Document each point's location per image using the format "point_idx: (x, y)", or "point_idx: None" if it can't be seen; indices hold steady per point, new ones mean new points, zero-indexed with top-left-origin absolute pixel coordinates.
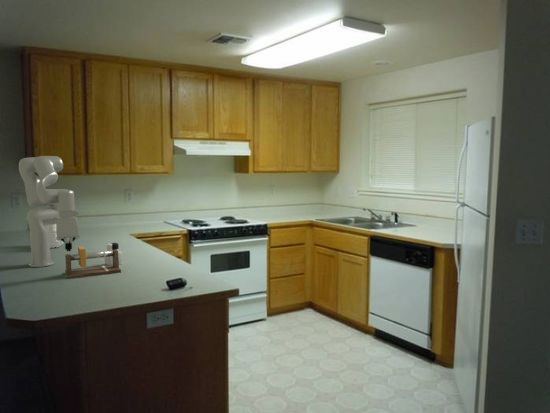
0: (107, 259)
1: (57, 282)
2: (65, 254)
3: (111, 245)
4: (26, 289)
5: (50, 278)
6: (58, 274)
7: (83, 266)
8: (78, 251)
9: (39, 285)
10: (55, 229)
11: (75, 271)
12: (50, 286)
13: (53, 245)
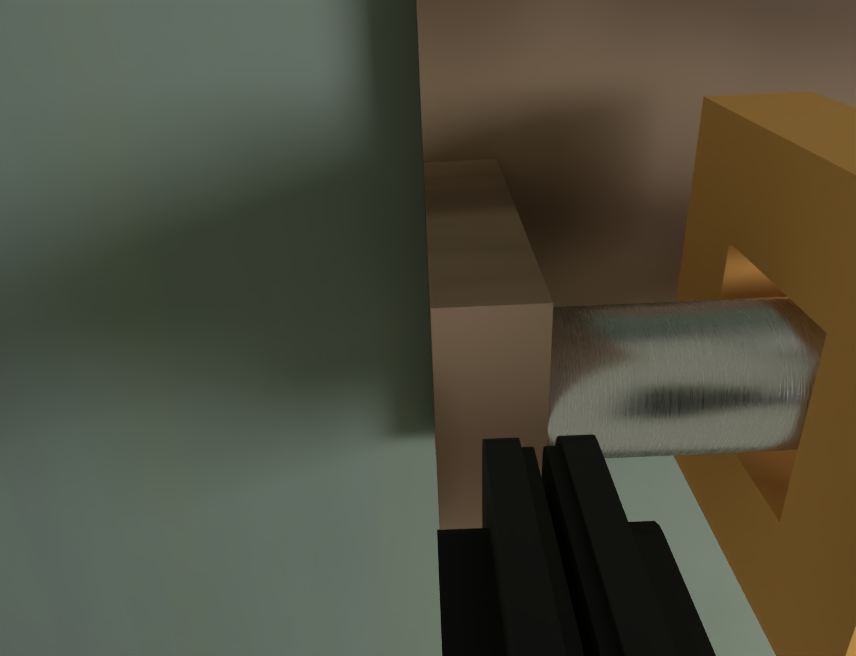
0: None
1: (300, 531)
2: (434, 328)
3: None
4: (7, 652)
5: (190, 294)
6: (294, 59)
7: None
8: (847, 297)
9: (109, 569)
10: None
11: (571, 225)
12: (236, 644)
13: None
